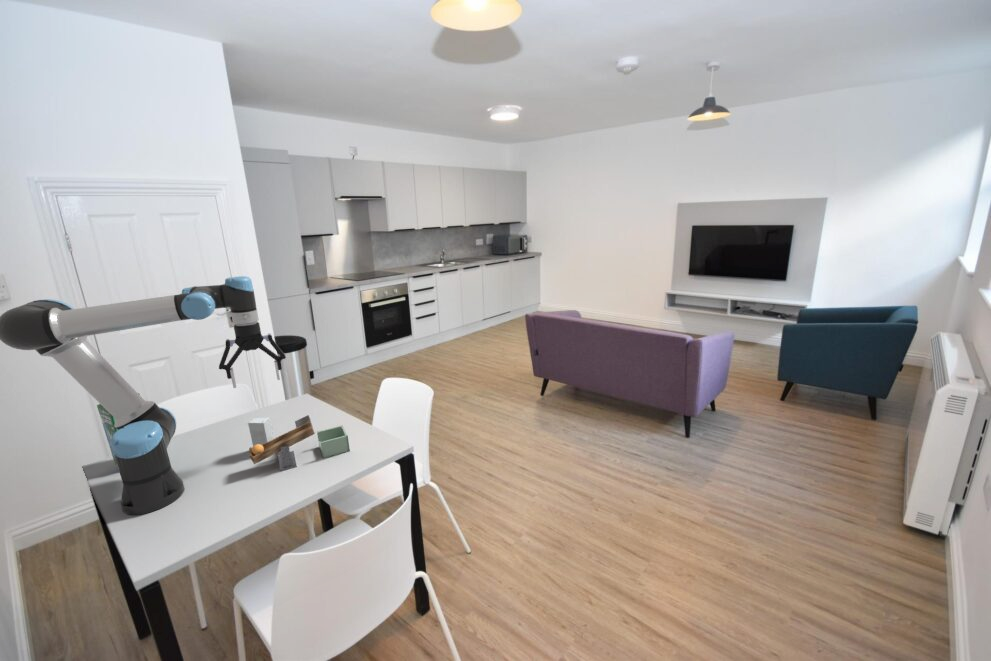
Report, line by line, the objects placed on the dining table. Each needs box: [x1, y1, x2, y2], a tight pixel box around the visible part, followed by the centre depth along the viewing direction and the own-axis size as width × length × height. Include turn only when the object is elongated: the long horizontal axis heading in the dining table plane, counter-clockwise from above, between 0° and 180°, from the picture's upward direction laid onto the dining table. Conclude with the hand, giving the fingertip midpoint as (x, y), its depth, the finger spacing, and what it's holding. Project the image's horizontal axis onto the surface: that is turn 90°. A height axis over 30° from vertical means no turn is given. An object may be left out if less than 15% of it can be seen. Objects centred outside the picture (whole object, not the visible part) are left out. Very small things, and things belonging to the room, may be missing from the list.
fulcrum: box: [277, 445, 297, 472], centre depth 148 cm, size 5×10×8 cm, turn 29°
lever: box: [248, 414, 316, 465], centre depth 150 cm, size 20×15×3 cm
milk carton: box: [96, 392, 141, 466], centre depth 150 cm, size 9×9×25 cm
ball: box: [251, 444, 264, 455], centre depth 143 cm, size 4×4×4 cm
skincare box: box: [247, 417, 275, 447], centre depth 156 cm, size 6×4×12 cm
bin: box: [316, 424, 351, 459], centre depth 155 cm, size 9×9×6 cm
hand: (257, 382), depth 150 cm, fingers open, 13 cm apart
